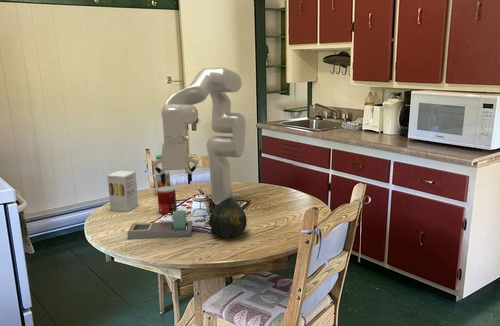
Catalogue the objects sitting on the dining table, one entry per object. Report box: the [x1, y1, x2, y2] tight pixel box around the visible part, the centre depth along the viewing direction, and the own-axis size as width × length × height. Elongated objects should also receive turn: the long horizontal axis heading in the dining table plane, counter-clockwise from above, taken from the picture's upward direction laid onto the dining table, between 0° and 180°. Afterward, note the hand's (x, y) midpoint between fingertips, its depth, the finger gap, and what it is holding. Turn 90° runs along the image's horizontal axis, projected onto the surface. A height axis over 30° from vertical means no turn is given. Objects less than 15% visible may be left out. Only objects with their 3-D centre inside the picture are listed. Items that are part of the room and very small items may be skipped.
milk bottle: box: [153, 154, 172, 196], centre depth 220 cm, size 8×8×20 cm
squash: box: [208, 197, 248, 239], centre depth 167 cm, size 14×15×15 cm
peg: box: [172, 210, 187, 229], centre depth 171 cm, size 4×4×8 cm
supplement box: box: [107, 170, 139, 213], centre depth 199 cm, size 10×9×17 cm
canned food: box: [156, 186, 178, 216], centre depth 193 cm, size 8×8×11 cm
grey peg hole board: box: [127, 220, 193, 240], centre depth 171 cm, size 24×10×3 cm, turn 93°
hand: (176, 183), depth 167 cm, fingers open, 9 cm apart
